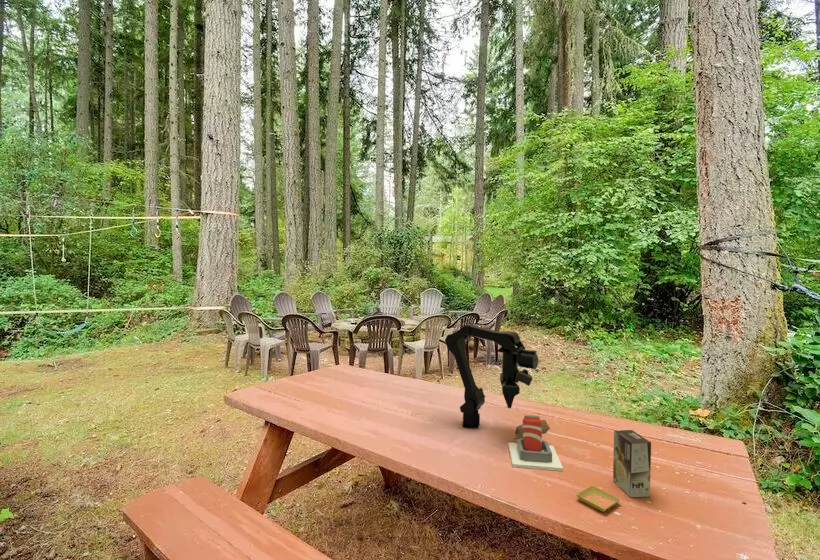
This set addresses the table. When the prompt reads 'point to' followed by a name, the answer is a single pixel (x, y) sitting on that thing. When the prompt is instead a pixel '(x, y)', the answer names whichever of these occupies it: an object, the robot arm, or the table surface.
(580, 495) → the olive green tray
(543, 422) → the brown fossil slab
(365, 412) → the table surface
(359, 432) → the table surface
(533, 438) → the beverage can
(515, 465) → the can holder
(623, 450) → the coffee box
